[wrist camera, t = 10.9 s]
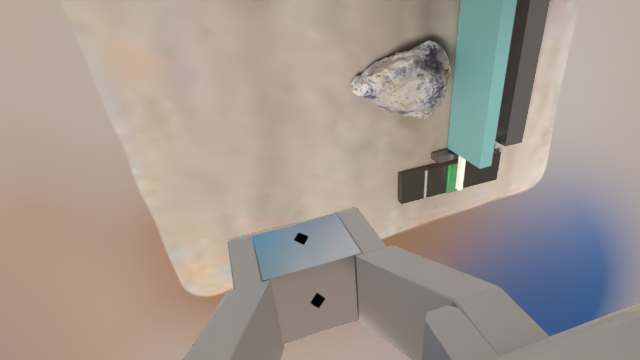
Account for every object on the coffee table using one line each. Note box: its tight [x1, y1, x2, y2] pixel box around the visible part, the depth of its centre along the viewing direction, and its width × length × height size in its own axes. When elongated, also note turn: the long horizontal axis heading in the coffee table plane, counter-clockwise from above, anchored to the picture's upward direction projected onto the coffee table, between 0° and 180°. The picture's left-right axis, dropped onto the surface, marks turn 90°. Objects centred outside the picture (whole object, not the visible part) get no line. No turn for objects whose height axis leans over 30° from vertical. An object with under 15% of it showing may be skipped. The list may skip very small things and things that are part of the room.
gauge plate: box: [448, 0, 517, 191], centre depth 40 cm, size 23×2×6 cm, turn 5°
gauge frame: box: [398, 0, 550, 204], centre depth 41 cm, size 25×15×3 cm, turn 6°
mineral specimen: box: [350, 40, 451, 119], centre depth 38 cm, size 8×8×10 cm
